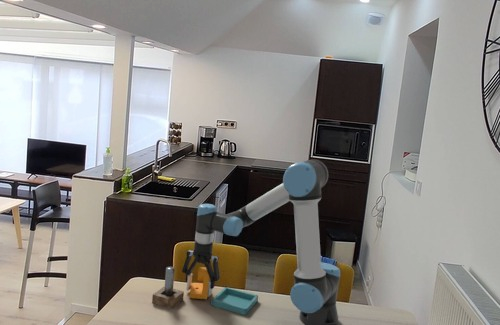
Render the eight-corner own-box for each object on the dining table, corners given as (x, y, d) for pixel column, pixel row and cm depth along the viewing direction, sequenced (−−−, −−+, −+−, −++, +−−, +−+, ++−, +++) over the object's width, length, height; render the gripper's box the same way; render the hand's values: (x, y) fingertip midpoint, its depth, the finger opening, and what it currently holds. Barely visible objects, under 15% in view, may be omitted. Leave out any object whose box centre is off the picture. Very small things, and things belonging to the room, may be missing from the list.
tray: (257, 301, 192) (258, 295, 191) (245, 315, 179) (246, 309, 178) (225, 292, 197) (225, 286, 196) (211, 305, 184) (211, 299, 183)
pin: (173, 300, 184) (176, 267, 182) (169, 303, 181) (172, 270, 179) (166, 298, 186) (168, 265, 183) (161, 301, 182) (164, 268, 180)
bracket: (191, 288, 197) (193, 261, 195) (208, 289, 198) (210, 263, 196) (189, 299, 187) (191, 272, 185) (206, 301, 187) (209, 273, 185)
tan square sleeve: (183, 299, 186) (183, 291, 186) (171, 308, 178) (172, 300, 177) (163, 294, 189) (164, 286, 189) (152, 302, 181) (152, 294, 180)
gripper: (231, 244, 188) (226, 295, 192) (184, 233, 195) (180, 282, 199) (224, 249, 181) (218, 302, 185) (176, 238, 188) (171, 289, 192)
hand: (199, 292), depth 192 cm, fingers closed on bracket, 9 cm apart
